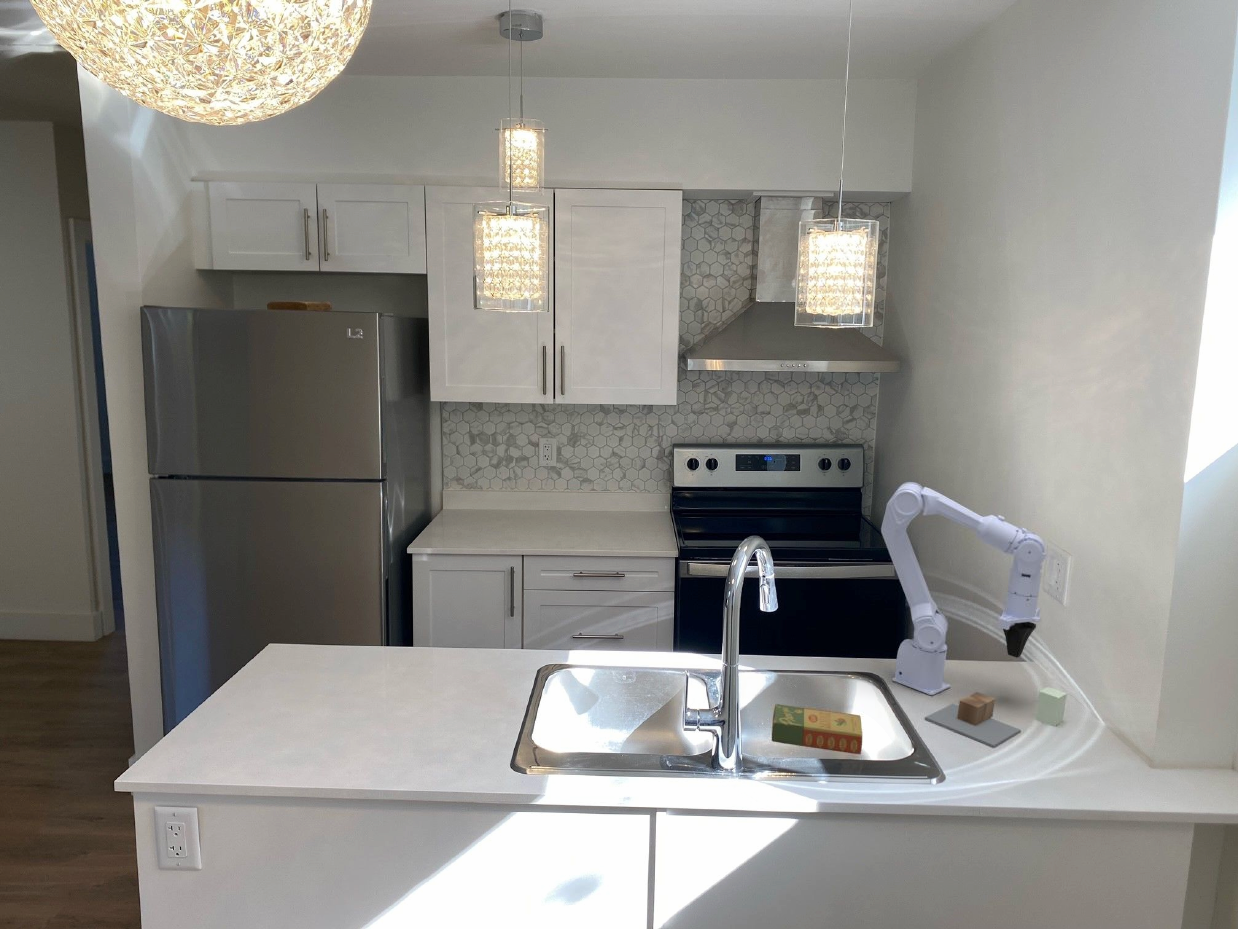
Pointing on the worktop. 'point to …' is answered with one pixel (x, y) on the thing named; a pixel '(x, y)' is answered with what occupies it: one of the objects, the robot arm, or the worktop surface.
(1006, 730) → the mat
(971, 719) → the walnut block
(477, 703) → the worktop surface
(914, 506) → the robot arm
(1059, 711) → the sage block
